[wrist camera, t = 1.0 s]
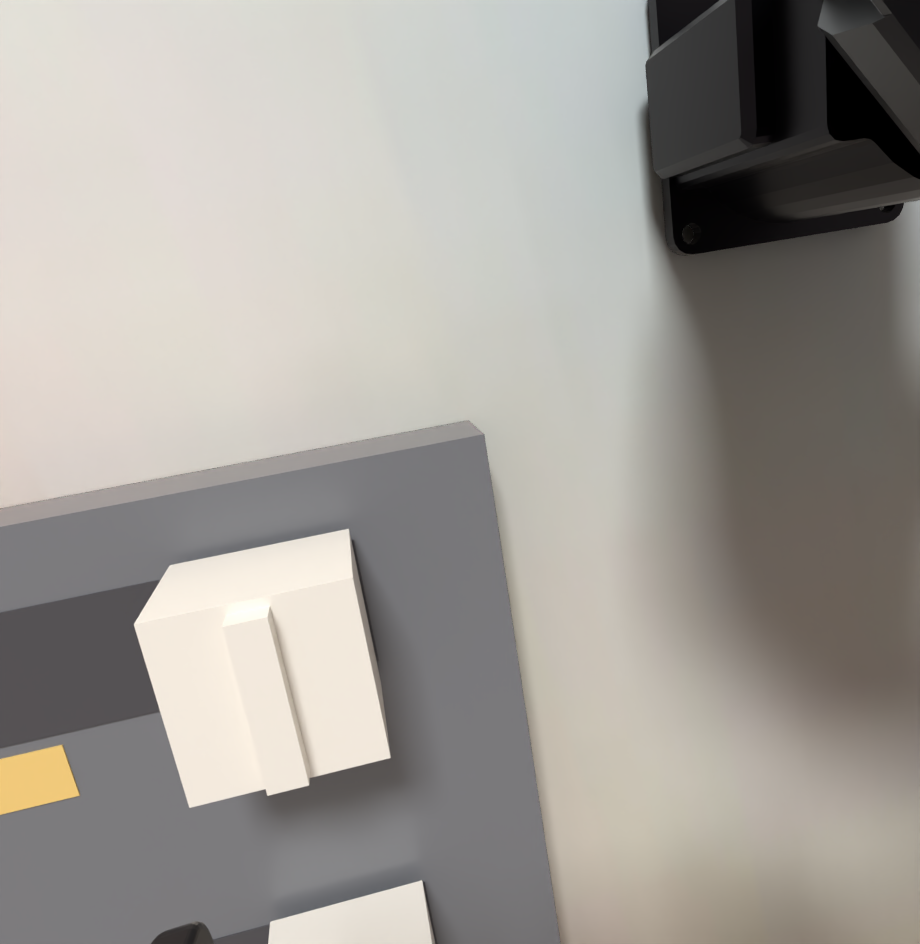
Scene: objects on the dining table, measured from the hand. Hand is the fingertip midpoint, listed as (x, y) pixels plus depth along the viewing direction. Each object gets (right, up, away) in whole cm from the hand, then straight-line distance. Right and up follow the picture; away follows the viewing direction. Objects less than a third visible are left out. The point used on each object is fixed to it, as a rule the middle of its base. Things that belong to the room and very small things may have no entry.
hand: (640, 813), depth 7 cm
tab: (-6, 0, +9) cm, 11 cm away
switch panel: (-7, -9, +14) cm, 18 cm away
